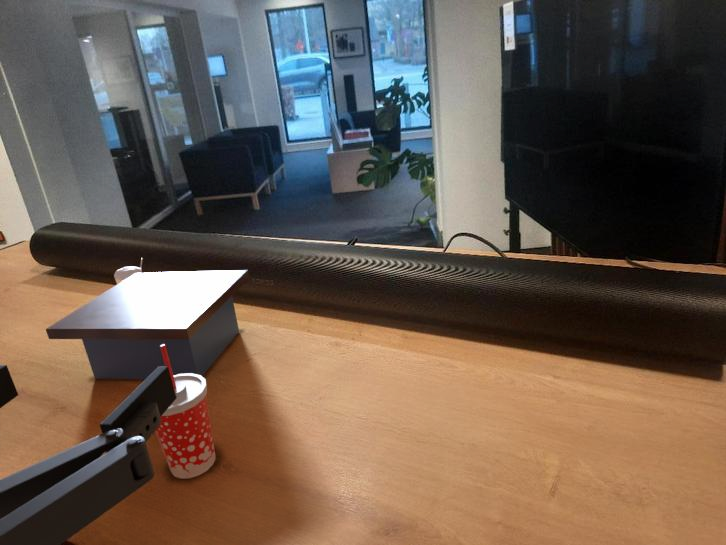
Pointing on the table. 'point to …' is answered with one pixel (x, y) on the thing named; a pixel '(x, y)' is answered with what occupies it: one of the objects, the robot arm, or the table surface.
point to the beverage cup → (186, 426)
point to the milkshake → (126, 272)
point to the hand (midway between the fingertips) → (85, 380)
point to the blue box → (183, 353)
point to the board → (152, 306)
